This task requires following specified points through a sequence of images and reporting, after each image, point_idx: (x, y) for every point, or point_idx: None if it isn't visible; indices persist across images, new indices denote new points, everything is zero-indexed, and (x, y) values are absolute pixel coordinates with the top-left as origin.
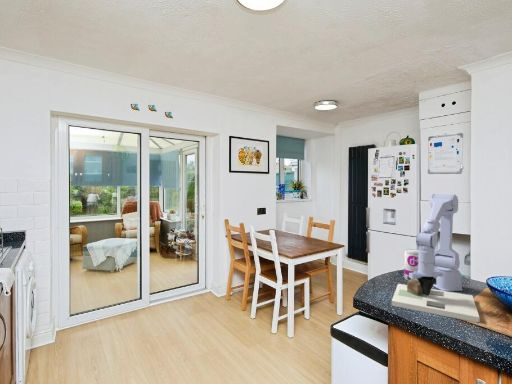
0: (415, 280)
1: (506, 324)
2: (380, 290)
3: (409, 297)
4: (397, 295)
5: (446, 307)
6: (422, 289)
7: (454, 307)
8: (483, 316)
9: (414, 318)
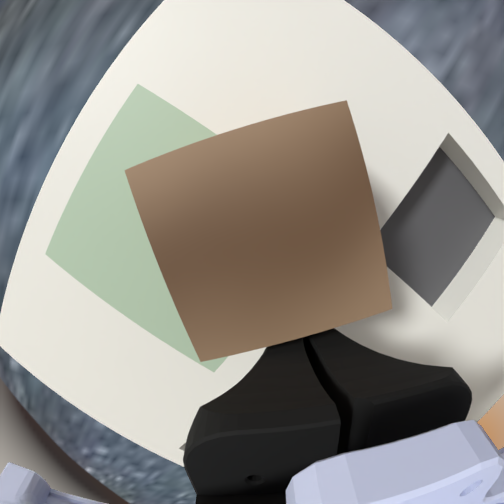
0: (324, 132)
1: None
2: (44, 32)
3: (119, 317)
4: (41, 257)
5: None
6: None
7: None
8: None
9: (89, 453)
